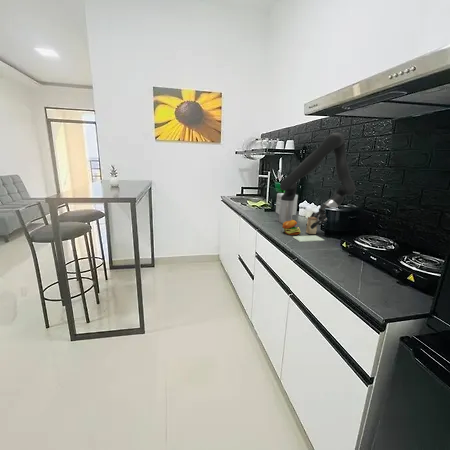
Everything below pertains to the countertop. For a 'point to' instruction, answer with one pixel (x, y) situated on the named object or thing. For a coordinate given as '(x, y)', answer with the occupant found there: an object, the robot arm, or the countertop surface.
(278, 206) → the supplement box
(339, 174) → the robot arm
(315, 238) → the sage board
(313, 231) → the beech block
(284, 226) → the cheeseburger
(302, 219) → the countertop surface
